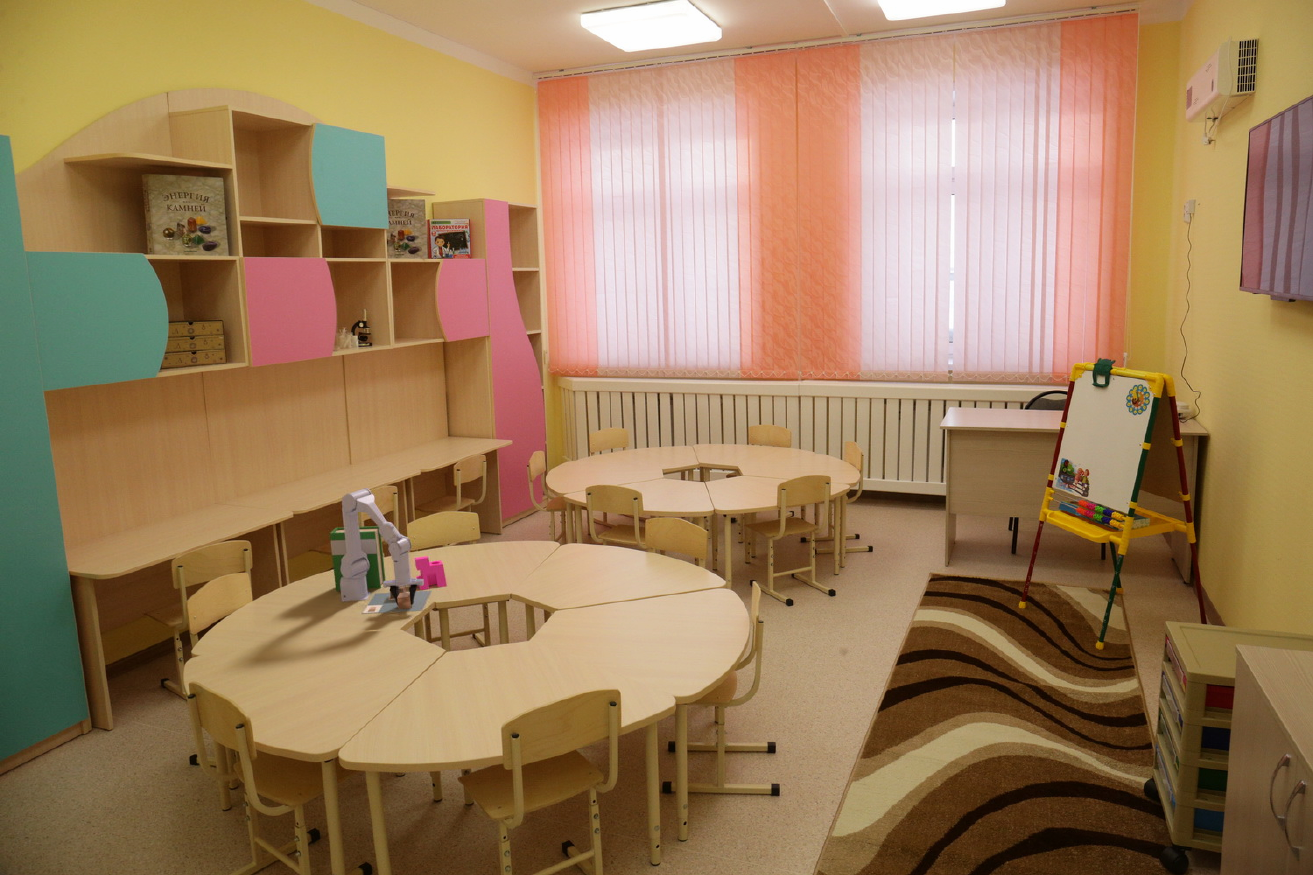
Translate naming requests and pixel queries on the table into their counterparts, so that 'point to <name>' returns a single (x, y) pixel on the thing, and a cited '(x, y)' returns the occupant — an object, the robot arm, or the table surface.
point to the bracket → (430, 572)
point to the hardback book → (369, 545)
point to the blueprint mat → (386, 604)
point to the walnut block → (401, 590)
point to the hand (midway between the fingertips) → (405, 604)
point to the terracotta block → (404, 601)
